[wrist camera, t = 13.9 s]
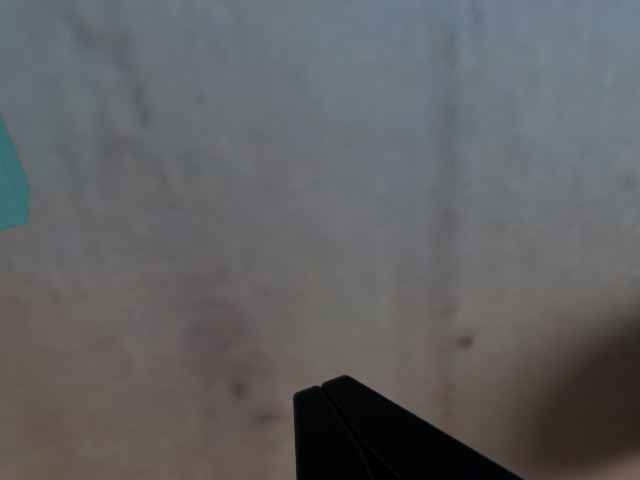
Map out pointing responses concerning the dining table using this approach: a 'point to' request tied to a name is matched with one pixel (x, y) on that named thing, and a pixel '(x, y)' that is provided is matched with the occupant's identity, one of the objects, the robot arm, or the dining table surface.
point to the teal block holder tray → (11, 184)
